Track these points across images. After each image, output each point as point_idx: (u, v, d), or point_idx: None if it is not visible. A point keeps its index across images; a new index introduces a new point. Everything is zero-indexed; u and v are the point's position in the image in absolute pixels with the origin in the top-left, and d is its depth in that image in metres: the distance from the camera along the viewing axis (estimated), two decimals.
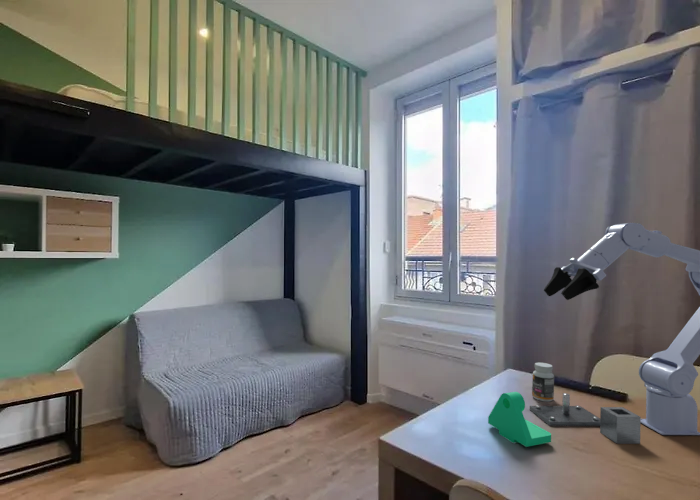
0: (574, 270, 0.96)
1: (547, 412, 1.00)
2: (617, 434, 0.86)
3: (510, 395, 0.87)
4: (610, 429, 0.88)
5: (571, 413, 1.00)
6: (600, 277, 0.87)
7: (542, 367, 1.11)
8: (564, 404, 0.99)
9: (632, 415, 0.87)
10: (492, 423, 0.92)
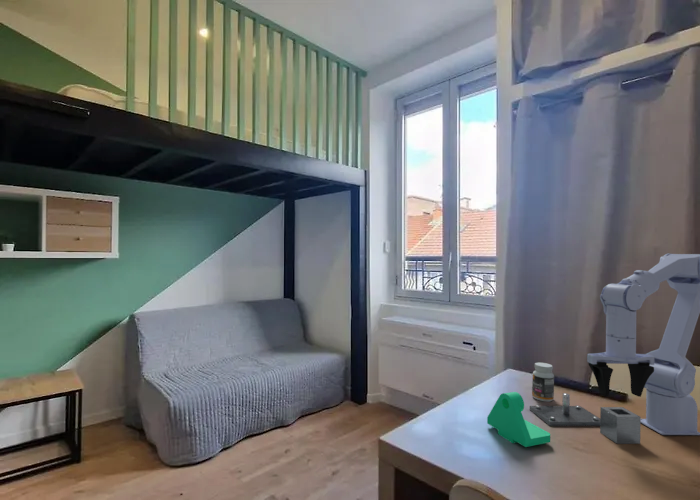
0: None
1: (547, 412, 1.00)
2: (617, 434, 0.86)
3: (509, 395, 0.87)
4: (610, 429, 0.88)
5: (571, 413, 1.00)
6: None
7: (542, 367, 1.11)
8: (564, 404, 0.99)
9: (632, 415, 0.87)
10: (491, 423, 0.92)
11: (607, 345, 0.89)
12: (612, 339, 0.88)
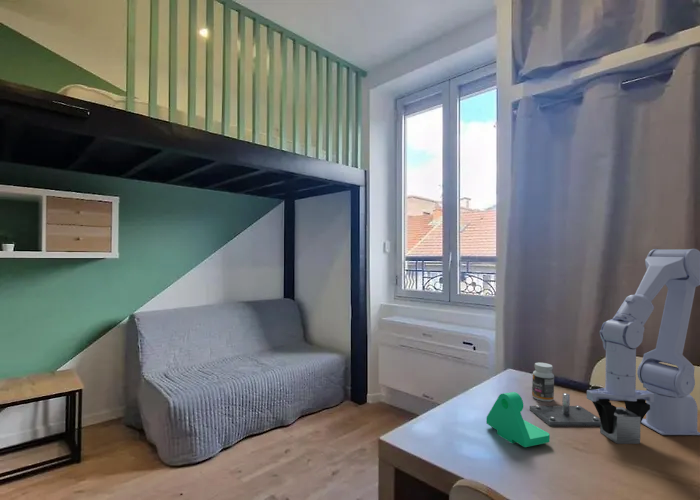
0: None
1: (547, 412, 1.00)
2: (617, 434, 0.86)
3: (508, 395, 0.87)
4: None
5: (571, 413, 1.00)
6: None
7: (542, 367, 1.11)
8: (564, 404, 0.99)
9: (632, 415, 0.87)
10: (490, 423, 0.92)
11: (607, 382, 0.89)
12: (612, 376, 0.88)
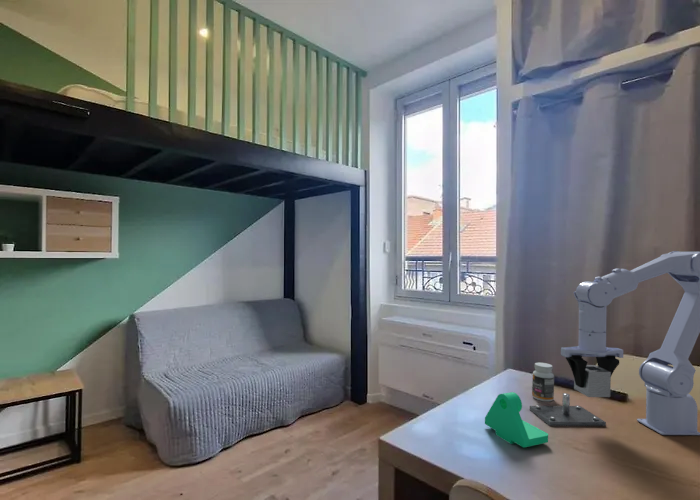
0: None
1: (547, 412, 1.00)
2: (589, 388, 0.91)
3: (507, 395, 0.87)
4: None
5: (571, 413, 1.00)
6: None
7: (542, 367, 1.11)
8: (564, 404, 0.99)
9: (603, 370, 0.92)
10: (489, 423, 0.92)
11: (579, 339, 0.95)
12: (584, 333, 0.93)
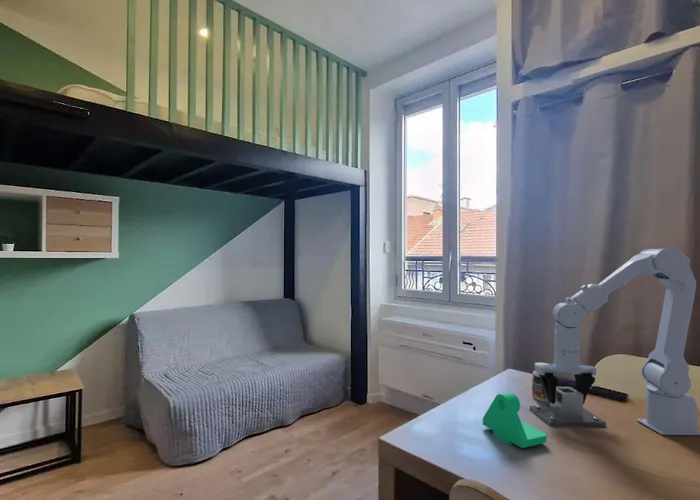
0: None
1: (547, 412, 1.00)
2: (562, 409, 0.97)
3: (505, 395, 0.87)
4: (557, 405, 0.99)
5: None
6: None
7: None
8: None
9: (576, 393, 0.98)
10: (487, 424, 0.91)
11: (555, 358, 1.00)
12: (558, 352, 0.99)
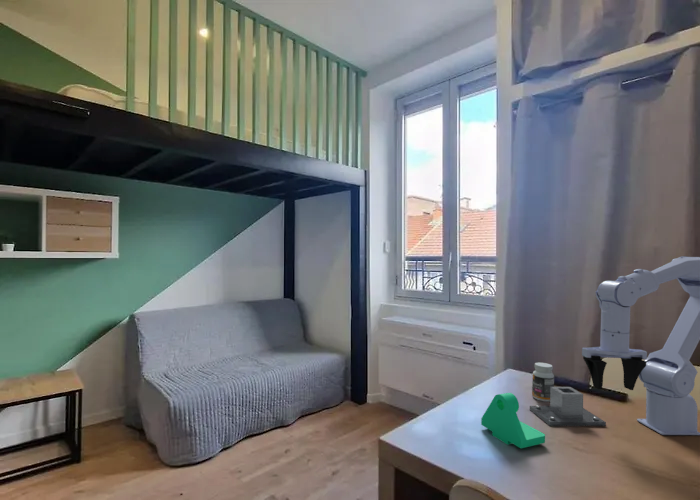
0: None
1: (547, 412, 1.00)
2: (562, 409, 0.97)
3: (504, 396, 0.87)
4: (557, 405, 0.99)
5: None
6: None
7: (542, 367, 1.11)
8: None
9: (576, 393, 0.98)
10: (485, 424, 0.91)
11: (601, 340, 0.92)
12: (606, 334, 0.91)
